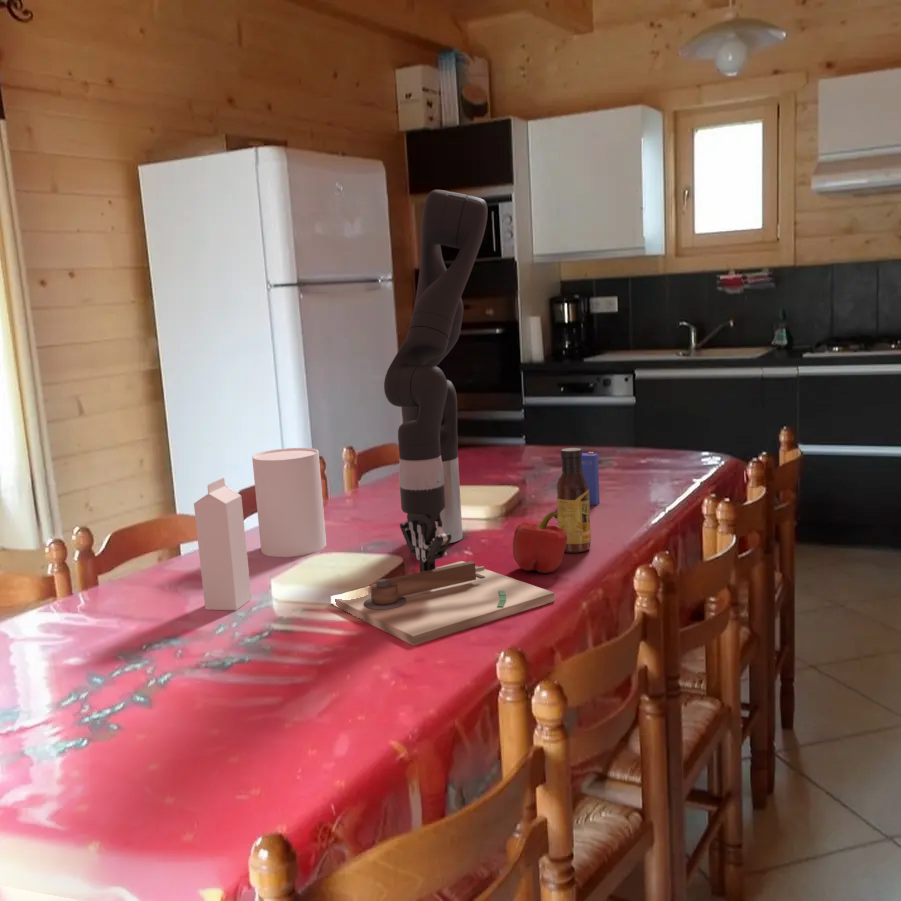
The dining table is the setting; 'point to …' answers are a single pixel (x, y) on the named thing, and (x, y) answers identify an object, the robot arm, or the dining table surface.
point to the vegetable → (539, 545)
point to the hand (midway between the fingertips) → (428, 580)
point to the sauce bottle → (573, 502)
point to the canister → (289, 501)
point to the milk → (222, 548)
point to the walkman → (591, 475)
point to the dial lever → (422, 582)
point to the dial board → (449, 607)
